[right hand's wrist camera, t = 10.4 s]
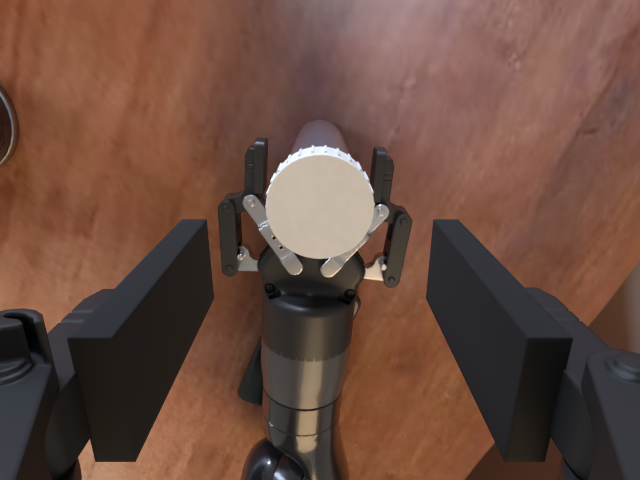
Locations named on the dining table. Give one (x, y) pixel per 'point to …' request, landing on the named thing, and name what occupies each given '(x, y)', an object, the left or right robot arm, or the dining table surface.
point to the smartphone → (253, 376)
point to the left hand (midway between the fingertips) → (320, 143)
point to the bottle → (319, 136)
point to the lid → (319, 202)
